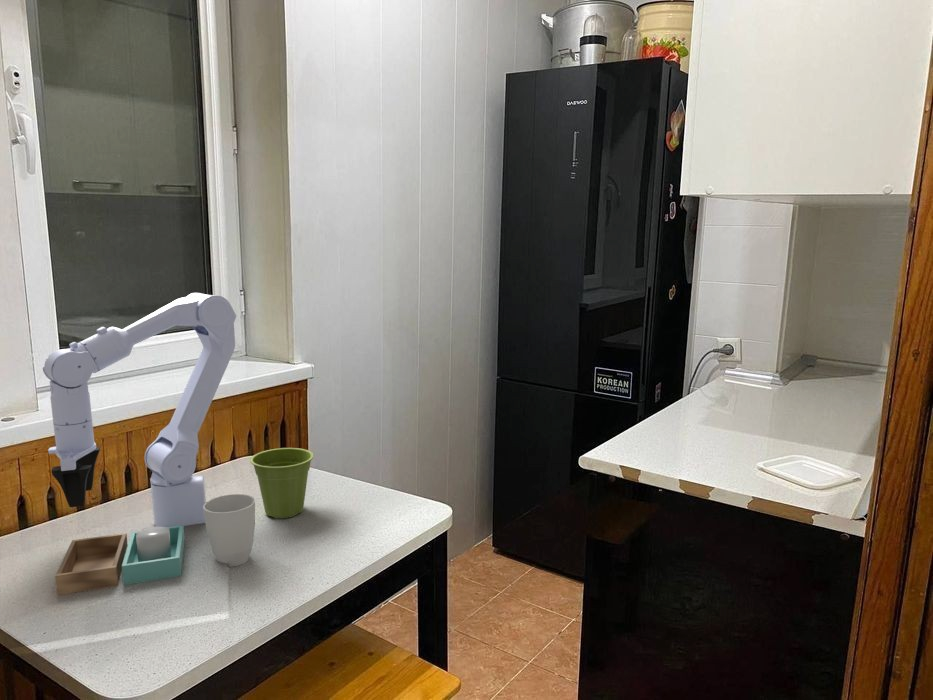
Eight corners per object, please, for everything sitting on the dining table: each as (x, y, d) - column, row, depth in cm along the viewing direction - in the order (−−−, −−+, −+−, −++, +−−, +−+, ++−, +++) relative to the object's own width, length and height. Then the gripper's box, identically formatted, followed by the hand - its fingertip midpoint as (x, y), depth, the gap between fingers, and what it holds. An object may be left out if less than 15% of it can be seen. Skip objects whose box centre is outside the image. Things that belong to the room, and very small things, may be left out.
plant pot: (269, 529, 130) (265, 471, 128) (244, 510, 139) (240, 455, 137) (326, 513, 137) (324, 457, 135) (299, 496, 146) (297, 443, 144)
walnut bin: (128, 553, 121) (126, 532, 120) (118, 590, 108) (115, 567, 108) (74, 561, 118) (72, 540, 117) (57, 599, 106) (55, 576, 105)
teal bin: (185, 545, 123) (183, 525, 123) (181, 580, 111) (179, 557, 111) (133, 553, 121) (131, 532, 120) (124, 589, 109) (121, 566, 108)
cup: (268, 552, 120) (264, 497, 119) (238, 574, 113) (234, 515, 111) (228, 546, 123) (224, 491, 121) (196, 567, 116) (192, 509, 114)
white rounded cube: (172, 552, 119) (170, 524, 118) (170, 566, 114) (167, 537, 113) (140, 557, 117) (138, 528, 117) (136, 570, 113) (133, 541, 112)
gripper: (55, 412, 124) (63, 486, 126) (35, 434, 110) (44, 516, 113) (99, 409, 126) (107, 481, 129) (85, 430, 113) (93, 510, 115)
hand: (81, 497), depth 121 cm, fingers open, 7 cm apart
